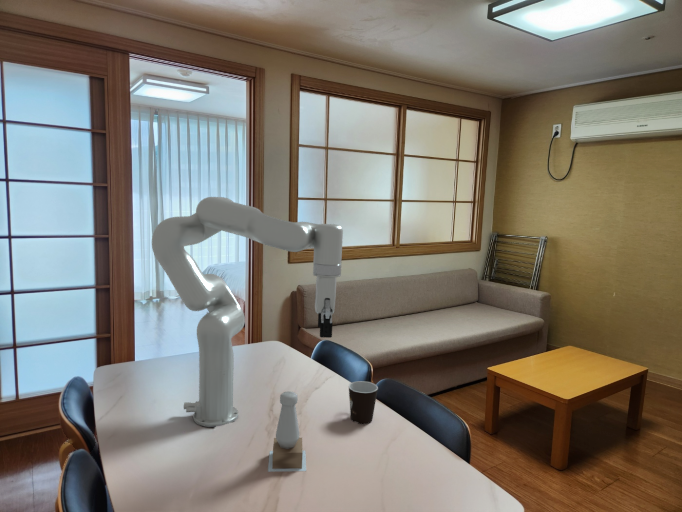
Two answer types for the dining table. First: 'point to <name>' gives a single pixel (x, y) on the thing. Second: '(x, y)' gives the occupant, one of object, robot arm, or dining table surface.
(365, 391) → the coffee mug
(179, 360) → the dining table surface
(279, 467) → the base block
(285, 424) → the salt shaker
